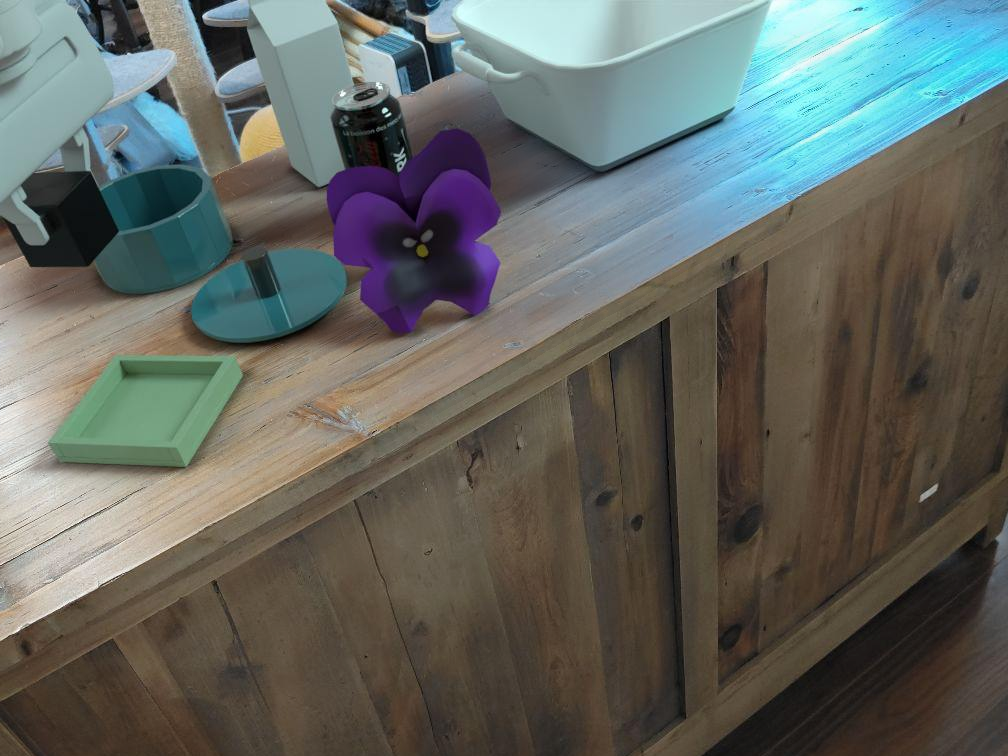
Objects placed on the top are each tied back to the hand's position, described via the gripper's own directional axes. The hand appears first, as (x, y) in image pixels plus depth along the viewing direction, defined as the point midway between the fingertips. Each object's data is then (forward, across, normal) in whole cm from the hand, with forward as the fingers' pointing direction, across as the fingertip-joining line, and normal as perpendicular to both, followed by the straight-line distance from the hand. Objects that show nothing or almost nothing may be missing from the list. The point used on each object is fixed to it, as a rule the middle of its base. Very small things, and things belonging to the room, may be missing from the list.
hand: (64, 217), depth 74 cm
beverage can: (+17, -30, +12) cm, 37 cm away
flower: (+17, -16, +20) cm, 31 cm away
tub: (+17, -48, +33) cm, 61 cm away
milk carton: (+17, -40, +2) cm, 44 cm away
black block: (+3, 0, -1) cm, 3 cm away
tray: (+17, +3, +1) cm, 17 cm away
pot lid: (+16, -14, +5) cm, 22 cm away
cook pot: (+17, -22, -10) cm, 30 cm away
